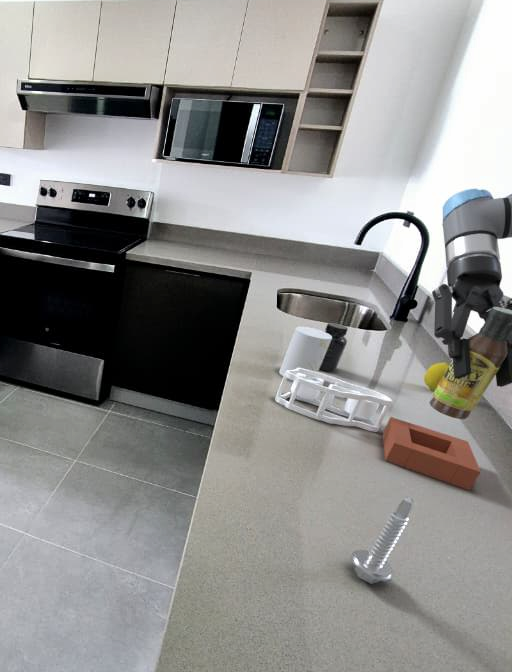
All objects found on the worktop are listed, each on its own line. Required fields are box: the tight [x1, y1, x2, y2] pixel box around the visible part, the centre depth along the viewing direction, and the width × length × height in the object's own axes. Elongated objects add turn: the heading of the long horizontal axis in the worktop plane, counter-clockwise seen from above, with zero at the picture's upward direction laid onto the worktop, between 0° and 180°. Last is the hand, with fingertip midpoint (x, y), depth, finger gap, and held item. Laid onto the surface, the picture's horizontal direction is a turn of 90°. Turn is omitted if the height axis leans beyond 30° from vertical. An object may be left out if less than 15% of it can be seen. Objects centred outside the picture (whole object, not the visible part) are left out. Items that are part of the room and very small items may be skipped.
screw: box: [350, 496, 415, 585], centre depth 63 cm, size 13×5×5 cm
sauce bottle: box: [429, 307, 512, 420], centre depth 88 cm, size 6×6×20 cm
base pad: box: [382, 416, 482, 491], centre depth 95 cm, size 13×13×4 cm
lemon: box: [423, 362, 450, 392], centre depth 130 cm, size 6×6×8 cm
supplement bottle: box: [319, 322, 349, 372], centre depth 134 cm, size 7×7×12 cm
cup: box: [279, 326, 332, 382], centre depth 124 cm, size 8×8×12 cm
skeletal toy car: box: [274, 368, 394, 433], centre depth 108 cm, size 20×11×7 cm, turn 53°
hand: (484, 379), depth 85 cm, fingers closed on sauce bottle, 6 cm apart
